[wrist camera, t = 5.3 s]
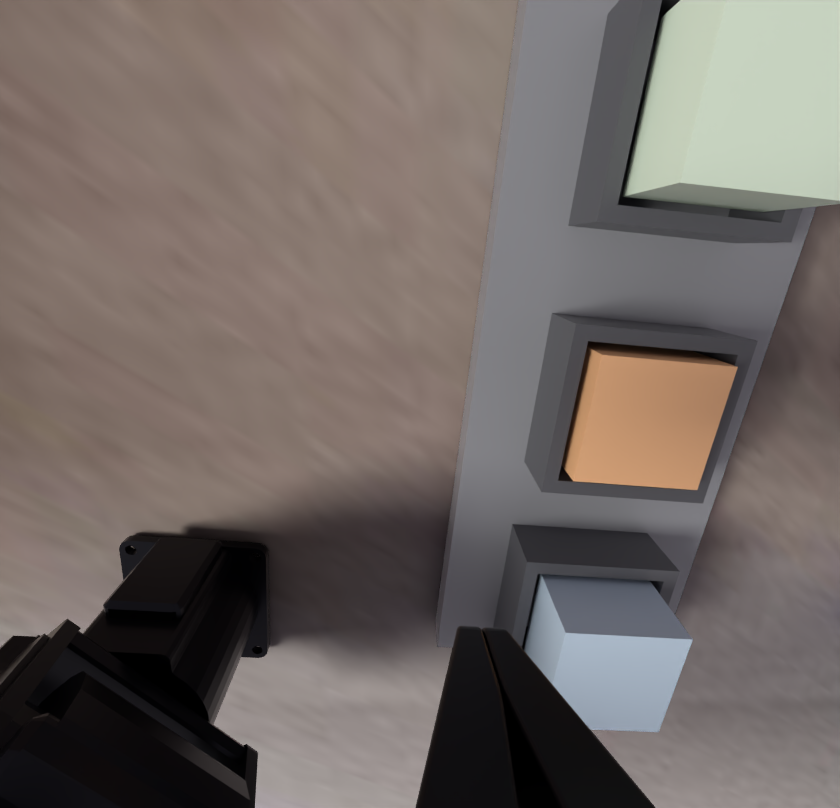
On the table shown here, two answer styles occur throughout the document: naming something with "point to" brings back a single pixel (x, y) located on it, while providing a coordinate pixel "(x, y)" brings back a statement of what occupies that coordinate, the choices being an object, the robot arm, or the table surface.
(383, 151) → the table surface
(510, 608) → the button panel
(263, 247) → the table surface
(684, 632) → the blue grey button
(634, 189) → the sage button
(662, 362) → the terracotta button
